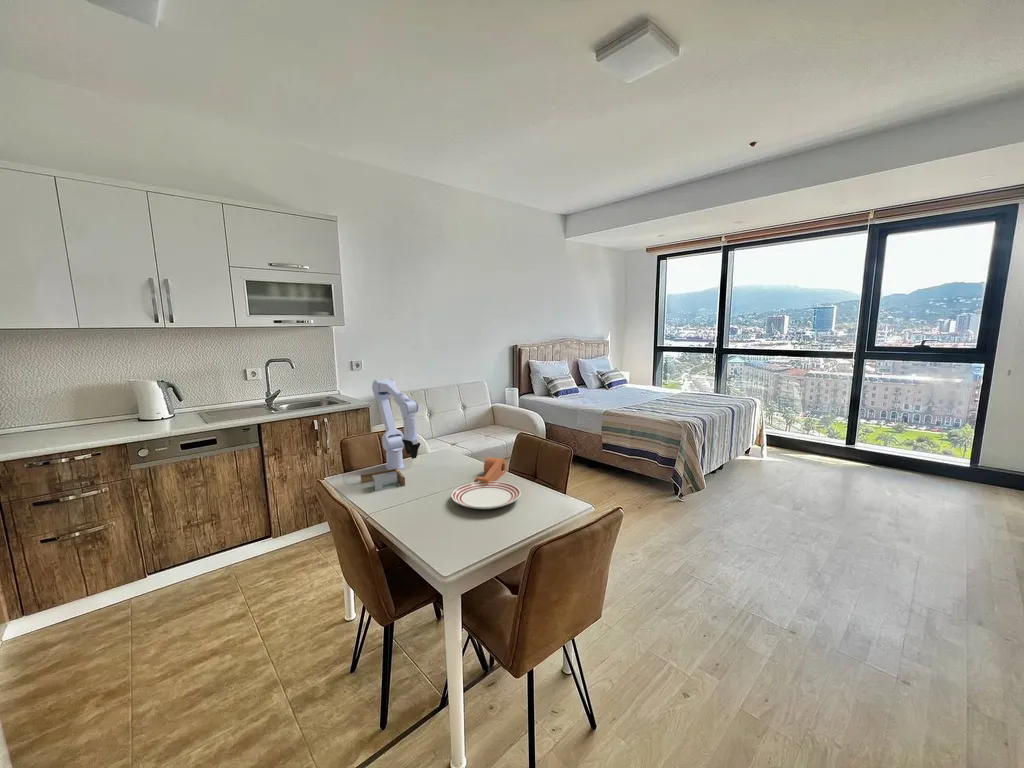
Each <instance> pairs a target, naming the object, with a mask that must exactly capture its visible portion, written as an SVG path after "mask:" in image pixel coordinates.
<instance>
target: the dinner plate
mask: <svg viewBox="0 0 1024 768" xmlns="http://www.w3.org/2000/svg"><path fill="white" fill-rule="evenodd" d="M521 494H522V492H521V489H520V488H519V487H517V486H516V485H514V484H512V483H508V482H505V481H498V480H496V481H489V483H488V484H485V483H483V482H480V481H478V482H475V483H474V482H469V483H467V484H464V485H461V486H458V487H457V488H456V489H454V490H453V491H452V492H451V495H450V496H451V499H452V501H453V502H455V503H456V504H458V505H460V506H463V507H465V508H470V509H474V510H475V509H476V510H492V509H498V508H501V507H505V506H508V505H510V504H512V503H514V502H515V501H517V500H518V499H519V498H520V496H521Z"/></svg>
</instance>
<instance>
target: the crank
mask: <svg viewBox="0 0 1024 768" xmlns="http://www.w3.org/2000/svg"><path fill="white" fill-rule="evenodd" d="M503 471H504V472H503ZM483 472H484V476H477V477H476V478H475V479H474V481H473V483H475V482H483V483H485V484H488V483H489V481H498V480H499V479H500V478H501V477H502V476H504V475H505V474H506V472H507V460H506V459H505V458H496V457H486V459H485V460H484V464H483Z"/></svg>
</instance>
